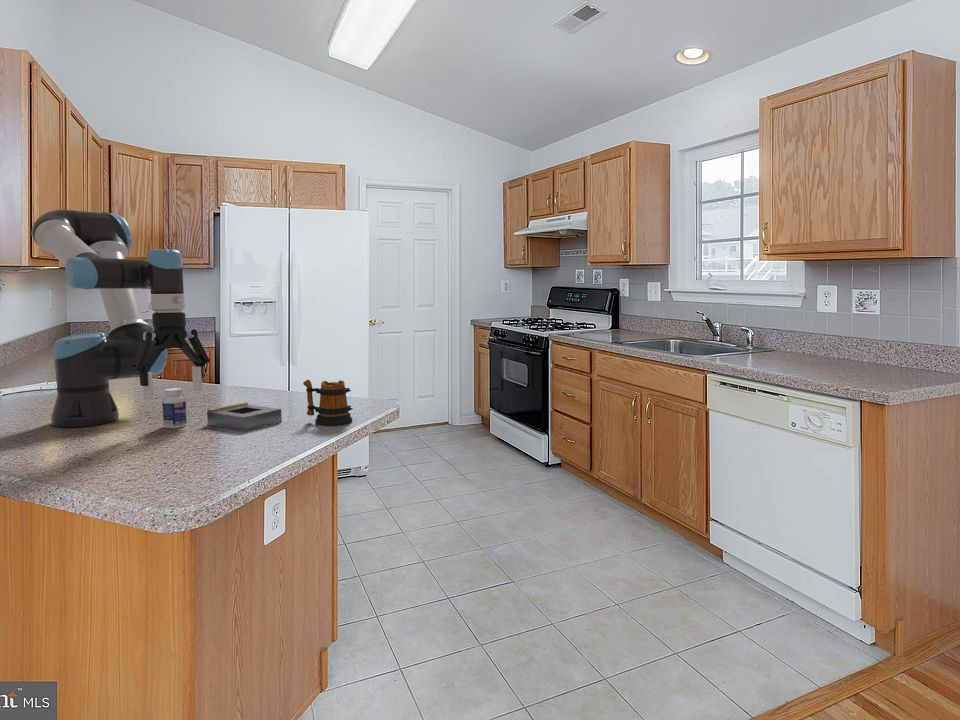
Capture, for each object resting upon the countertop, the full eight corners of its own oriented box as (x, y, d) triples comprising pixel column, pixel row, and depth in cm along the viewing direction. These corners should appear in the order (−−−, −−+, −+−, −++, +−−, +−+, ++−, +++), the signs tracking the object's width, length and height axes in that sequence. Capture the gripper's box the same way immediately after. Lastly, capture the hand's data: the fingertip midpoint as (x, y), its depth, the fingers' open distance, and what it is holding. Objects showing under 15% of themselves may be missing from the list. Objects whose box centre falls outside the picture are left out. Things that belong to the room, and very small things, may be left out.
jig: (207, 425, 160) (206, 409, 160) (245, 416, 171) (244, 402, 170) (244, 431, 153) (244, 415, 153) (281, 421, 164) (281, 406, 163)
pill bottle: (177, 429, 156) (175, 391, 154) (159, 428, 157) (156, 390, 155) (191, 424, 161) (189, 387, 160) (173, 423, 162) (171, 387, 161)
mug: (357, 418, 169) (356, 376, 167) (348, 426, 159) (347, 382, 157) (310, 418, 169) (308, 376, 168) (298, 426, 159) (296, 382, 158)
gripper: (129, 313, 143) (135, 403, 145) (220, 310, 164) (225, 388, 166) (110, 313, 146) (117, 401, 148) (202, 310, 168) (207, 387, 170)
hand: (174, 394), depth 157 cm, fingers open, 13 cm apart
